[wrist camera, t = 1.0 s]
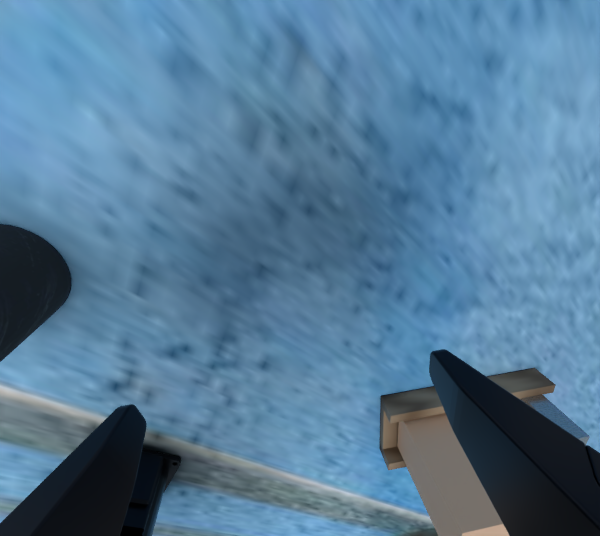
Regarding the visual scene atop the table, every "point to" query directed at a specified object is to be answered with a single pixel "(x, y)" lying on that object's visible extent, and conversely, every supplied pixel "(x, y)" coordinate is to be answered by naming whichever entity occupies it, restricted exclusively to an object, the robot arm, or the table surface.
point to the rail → (430, 404)
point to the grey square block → (555, 416)
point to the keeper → (446, 479)
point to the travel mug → (28, 285)
